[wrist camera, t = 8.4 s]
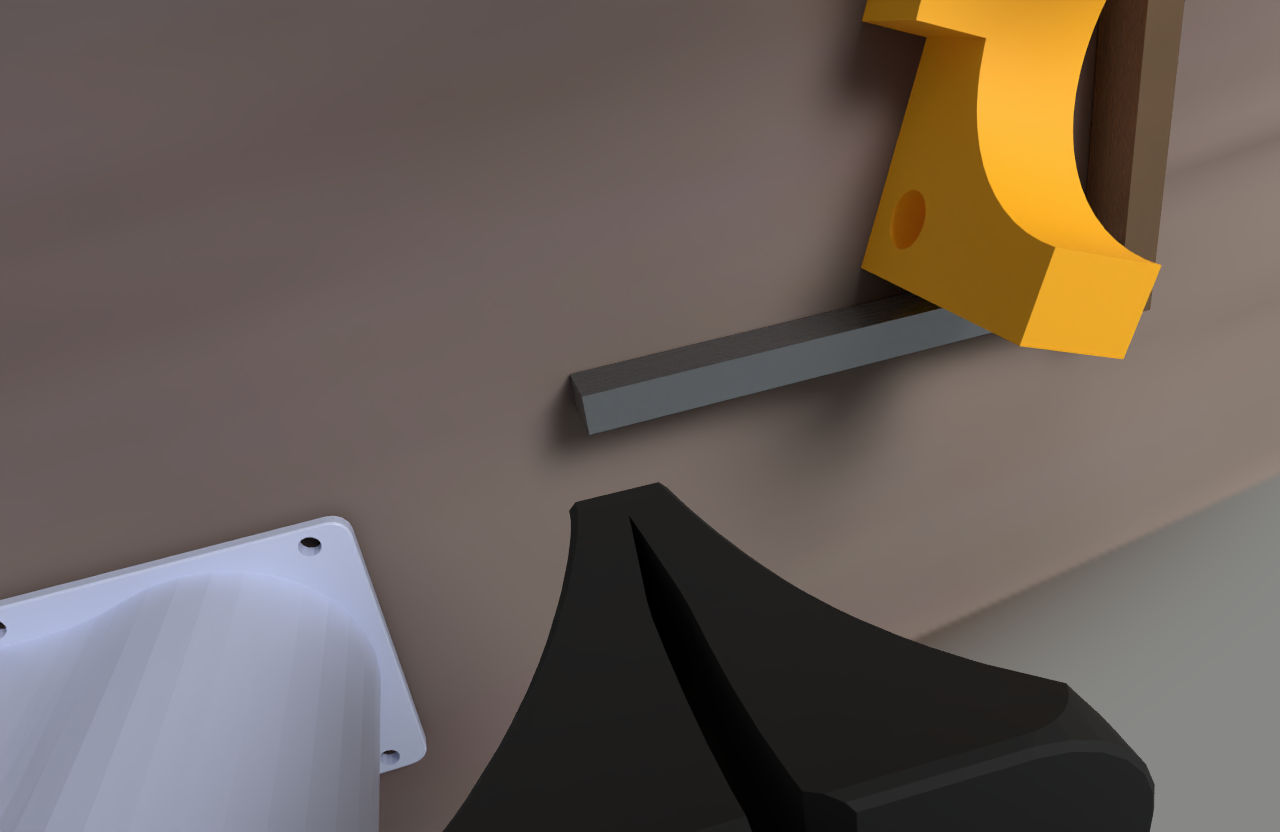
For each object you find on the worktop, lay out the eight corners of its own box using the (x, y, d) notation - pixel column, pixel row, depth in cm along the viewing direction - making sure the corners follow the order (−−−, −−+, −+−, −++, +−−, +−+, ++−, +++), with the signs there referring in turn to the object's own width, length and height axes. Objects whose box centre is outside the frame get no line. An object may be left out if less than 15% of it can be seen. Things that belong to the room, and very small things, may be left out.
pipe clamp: (946, -320, 18) (1213, -486, 12) (1112, -252, 19) (1422, -374, 13) (798, 257, 22) (943, 336, 16) (942, 279, 23) (1122, 359, 18)
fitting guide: (580, 428, 22) (593, 453, 21) (402, -461, 15) (403, -509, 13) (1109, 295, 25) (1149, 309, 23) (1181, -516, 17) (1247, -562, 16)
